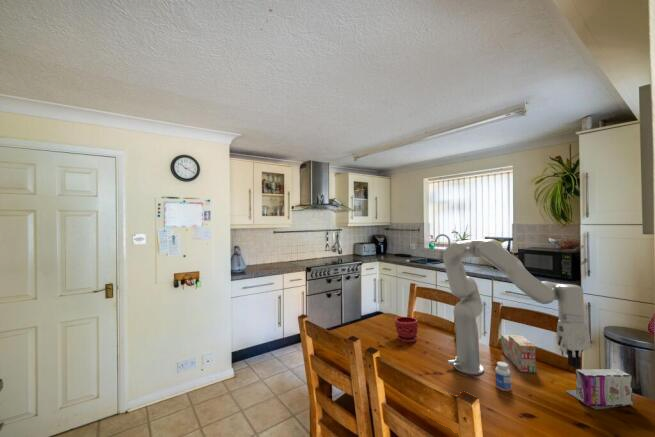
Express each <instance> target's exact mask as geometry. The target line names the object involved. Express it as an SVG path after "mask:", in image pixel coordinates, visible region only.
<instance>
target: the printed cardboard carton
mask: <svg viewBox="0 0 655 437" xmlns="http://www.w3.org/2000/svg"><path fill="white" fill-rule="evenodd" d="M500 341H501V352H502V353H503V354H504V355H505V356H506V357H507V359H509V360H510V361H511V362H512V364H514V366H515V365H516V366H517V367H516V366H515V367H516V368H517V369H518V370H519V371H520V373H532V372H534V373H535V374H536V373H537V364H536V363H537V362H536V360H537V358H536V356H537V354H536V345H534V344H533V343H532V342H531V341H529V339H527V338H525V337H524V336H523V335H516V334H515V335H514V334H500Z"/></svg>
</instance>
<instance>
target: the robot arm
mask: <svg viewBox="0 0 655 437" xmlns="http://www.w3.org/2000/svg"><path fill="white" fill-rule="evenodd" d="M467 258H483V259H484V260H486V261H487V263H489V264H490V265H493V267H495V268H496V269H498V271H500V272H501V273H502V274H504V275H505V276H506V277H507V279H508V280H509V281H511V283H513V285H515V286H516V288H517V289H519V290H520V291H521V292H522V293H524V294H525V295H527V296H528V297H529V298H530V299H531V300H533V301H534V302H536V303H539V304H541V305H548V304H552V303H553V302H554V301H557V307H558V309H557V310H558V316H557V318H558V321H557V324H556V325H557V326H556V342H557V345H558V346H559V351H560V352H562V353H565V354H566V355H567V364H568V365H569V366H570V367H572V368H574V369H581V357H582V353H583V352H585V351H587V350H590V349H591V347H592V343H591V336H590V330H589V325H588V324H587V322H586V317H585V315H586V314H585V300H584V299H585V298H584V289H583V288H582V286H579V285H577V284H571V283H557V282H553V281H546V280H544V281H543V280H542V281H541V280H539V279H538V278H536V277H535V276H534V275H533V274H531V272H530V271H528V270H527V269H526V267H525V266H524V264H523V262H522V261H521V260H520V259H519V258H518V257H516V256H515V255H513V254H512V253H510V252H509V251H507V250H506V249H505V248H504V247H503V246H502V243H501V242H499V240H496V239H493V238H488V239H475V240H474V239H473V240H472V239H471V240H470V239H469V240H459V241H455V242H452V243H451V244H449V245H448V246H447V247H446V248H445V249H444V251H443V255H442V261H443V263H444V268H445V272H446V277H447V281H448V285H449V288H450V292H451V294H452V295H453V296H454V297H456V298H458V299H460V300H459V301H458V302H457V303H456V304H455V305H454V308H453V318H454V324H455V338H456V340H455V342H456V356H454V359H448V360H447V362H446V363H447V364H448V365H449V366H450V365H453V367H454V369H456V370H457V371H459V372H461V373H463V374H467V375H472V376H473V375H481V374H483V373H484V368H485V367H483V365H482V364H481V362H480V347H479V346H480V345H479V341H480V340H479V328H478V322H477V318H478V317H479V316H480V315H481V314H482V313H483V303H482V298H481V295H480V291H479V288H478V284H477V283H476V281H475V279H473V278H472V277H471V276H469V275H467V271H466V268H465V267H464V264H463V259H467Z"/></svg>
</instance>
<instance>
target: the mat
mask: <svg viewBox="0 0 655 437" xmlns="http://www.w3.org/2000/svg"><path fill="white" fill-rule="evenodd" d="M565 393H566V394H568V395H569V396H571V397H573V398H574V399H575V398H576V399H577V392H576V389H573V390H572V389H570V390H565ZM577 400H578V401H580V400H579V399H577ZM589 407H590V408H592V409H594V410H595V409H596V410H603V409H609V408H610V407H611V408H618V407H620V406H589ZM611 408H610V409H611Z"/></svg>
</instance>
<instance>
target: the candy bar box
mask: <svg viewBox="0 0 655 437" xmlns="http://www.w3.org/2000/svg"><path fill="white" fill-rule="evenodd" d="M575 381H576V383H575V385H576V386H575V387H576V389H575V390H576V392H577V398H576V399H577V400H578V399H579V400H578V401H580V402H582V404H584V405H586V406H588V407H590V406H619V407H627V406H629V407H632V406H633V384H632V383H633V382H632V375H631V374H629V373H627V372H625V371H623V370H621V369H618V368H615V369H614V368H613V369H611V368H609V369H604V368H603V369H602V368H600V369H595V368H594V369H589V368H588V369H575Z"/></svg>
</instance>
